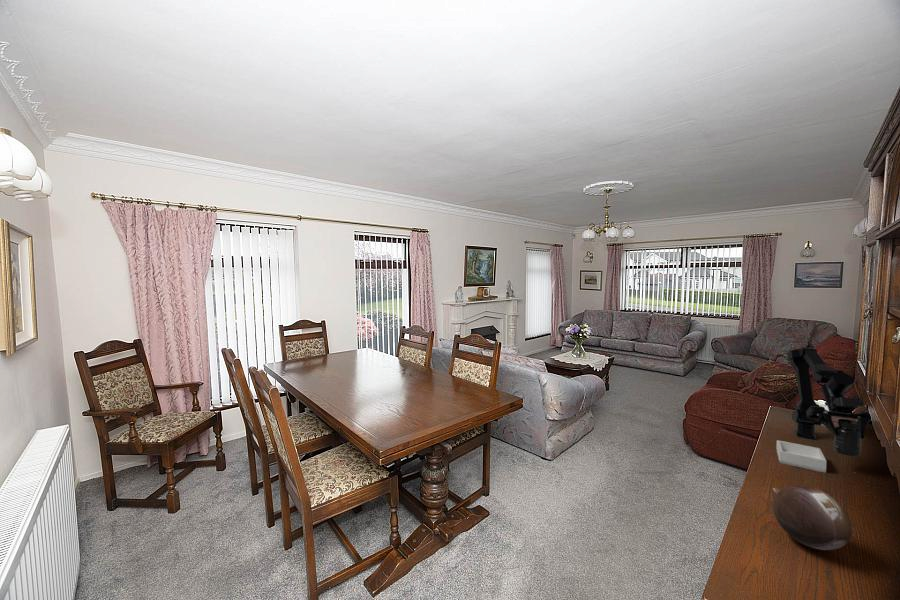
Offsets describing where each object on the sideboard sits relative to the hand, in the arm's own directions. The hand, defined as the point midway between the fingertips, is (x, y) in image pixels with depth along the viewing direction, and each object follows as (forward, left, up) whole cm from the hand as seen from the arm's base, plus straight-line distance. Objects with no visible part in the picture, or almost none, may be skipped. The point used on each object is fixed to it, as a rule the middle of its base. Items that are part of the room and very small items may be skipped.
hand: (849, 436), depth 132 cm
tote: (-1, -13, -13) cm, 18 cm away
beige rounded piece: (+40, -20, -14) cm, 46 cm away
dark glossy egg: (+58, -17, -13) cm, 62 cm away
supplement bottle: (-1, 0, -7) cm, 7 cm away
